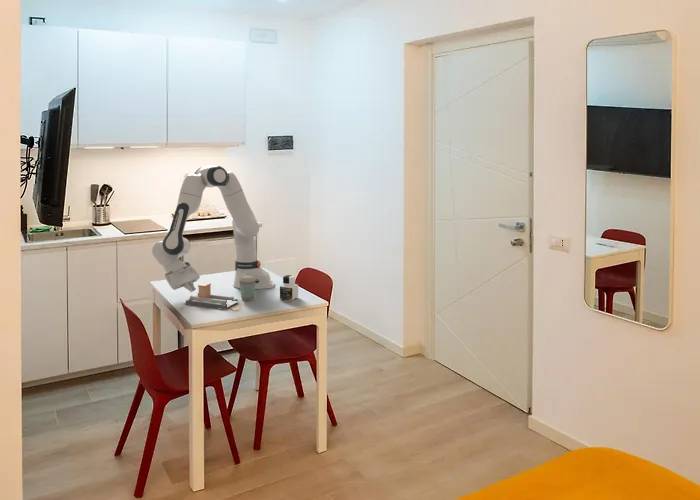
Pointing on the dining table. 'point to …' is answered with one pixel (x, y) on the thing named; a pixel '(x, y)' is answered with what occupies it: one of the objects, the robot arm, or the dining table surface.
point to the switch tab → (205, 290)
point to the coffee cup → (247, 286)
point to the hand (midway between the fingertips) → (193, 290)
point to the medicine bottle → (288, 288)
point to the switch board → (210, 301)
